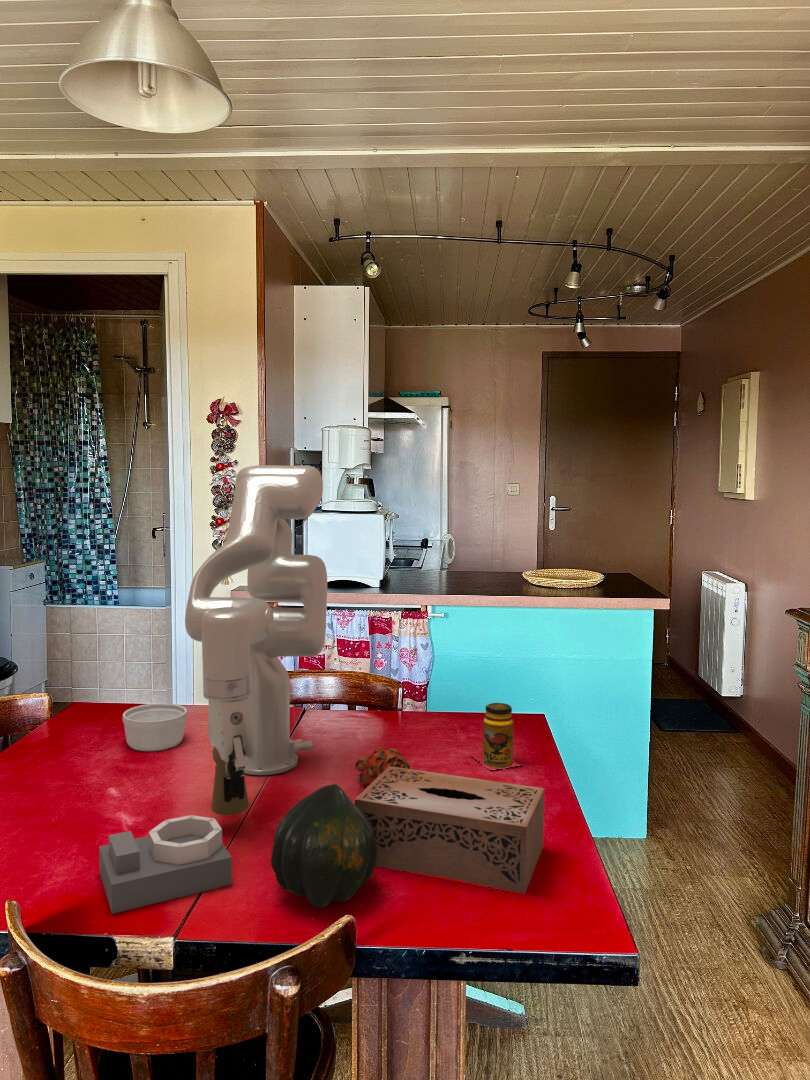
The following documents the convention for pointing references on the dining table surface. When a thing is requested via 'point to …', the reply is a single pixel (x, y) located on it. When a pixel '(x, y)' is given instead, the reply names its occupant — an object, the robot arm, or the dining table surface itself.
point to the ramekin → (154, 726)
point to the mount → (164, 863)
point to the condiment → (498, 736)
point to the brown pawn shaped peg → (218, 792)
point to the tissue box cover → (455, 826)
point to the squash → (324, 848)
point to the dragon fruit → (379, 764)
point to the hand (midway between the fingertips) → (229, 792)
